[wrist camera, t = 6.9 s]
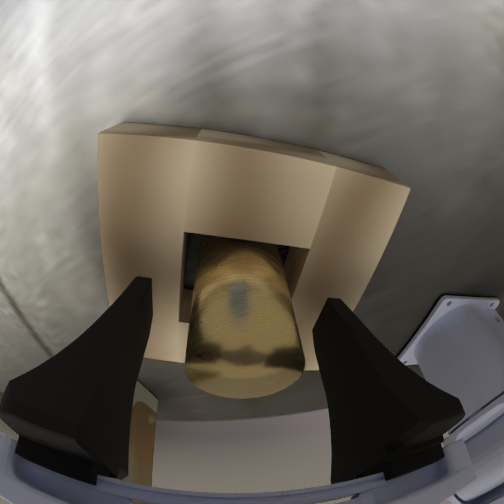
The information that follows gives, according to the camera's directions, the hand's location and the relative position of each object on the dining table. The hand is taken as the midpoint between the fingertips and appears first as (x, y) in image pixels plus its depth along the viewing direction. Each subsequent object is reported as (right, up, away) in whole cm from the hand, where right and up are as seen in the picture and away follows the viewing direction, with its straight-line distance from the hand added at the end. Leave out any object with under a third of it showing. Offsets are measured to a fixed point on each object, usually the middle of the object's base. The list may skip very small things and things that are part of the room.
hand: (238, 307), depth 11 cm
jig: (0, +2, +3) cm, 4 cm away
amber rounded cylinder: (0, +2, +3) cm, 4 cm away
